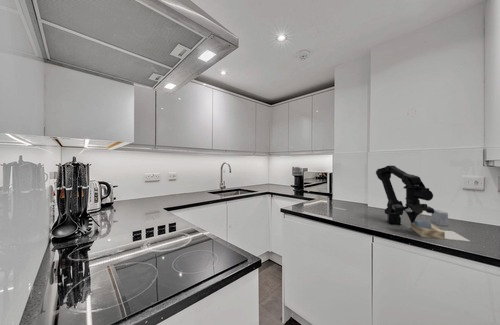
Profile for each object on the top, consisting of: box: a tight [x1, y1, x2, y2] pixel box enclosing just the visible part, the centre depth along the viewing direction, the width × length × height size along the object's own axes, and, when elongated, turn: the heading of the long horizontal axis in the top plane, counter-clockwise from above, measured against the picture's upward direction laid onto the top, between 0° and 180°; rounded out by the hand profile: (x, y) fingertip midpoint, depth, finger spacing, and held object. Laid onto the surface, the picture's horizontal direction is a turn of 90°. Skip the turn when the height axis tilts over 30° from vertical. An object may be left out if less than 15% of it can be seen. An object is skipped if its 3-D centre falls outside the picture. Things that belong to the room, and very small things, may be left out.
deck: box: [410, 222, 446, 240], centre depth 112 cm, size 10×14×4 cm
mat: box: [441, 229, 471, 242], centre depth 108 cm, size 10×14×1 cm
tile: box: [414, 219, 432, 228], centre depth 112 cm, size 6×6×2 cm
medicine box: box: [430, 209, 449, 227], centre depth 127 cm, size 8×4×9 cm, turn 168°
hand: (412, 222), depth 114 cm, fingers closed
